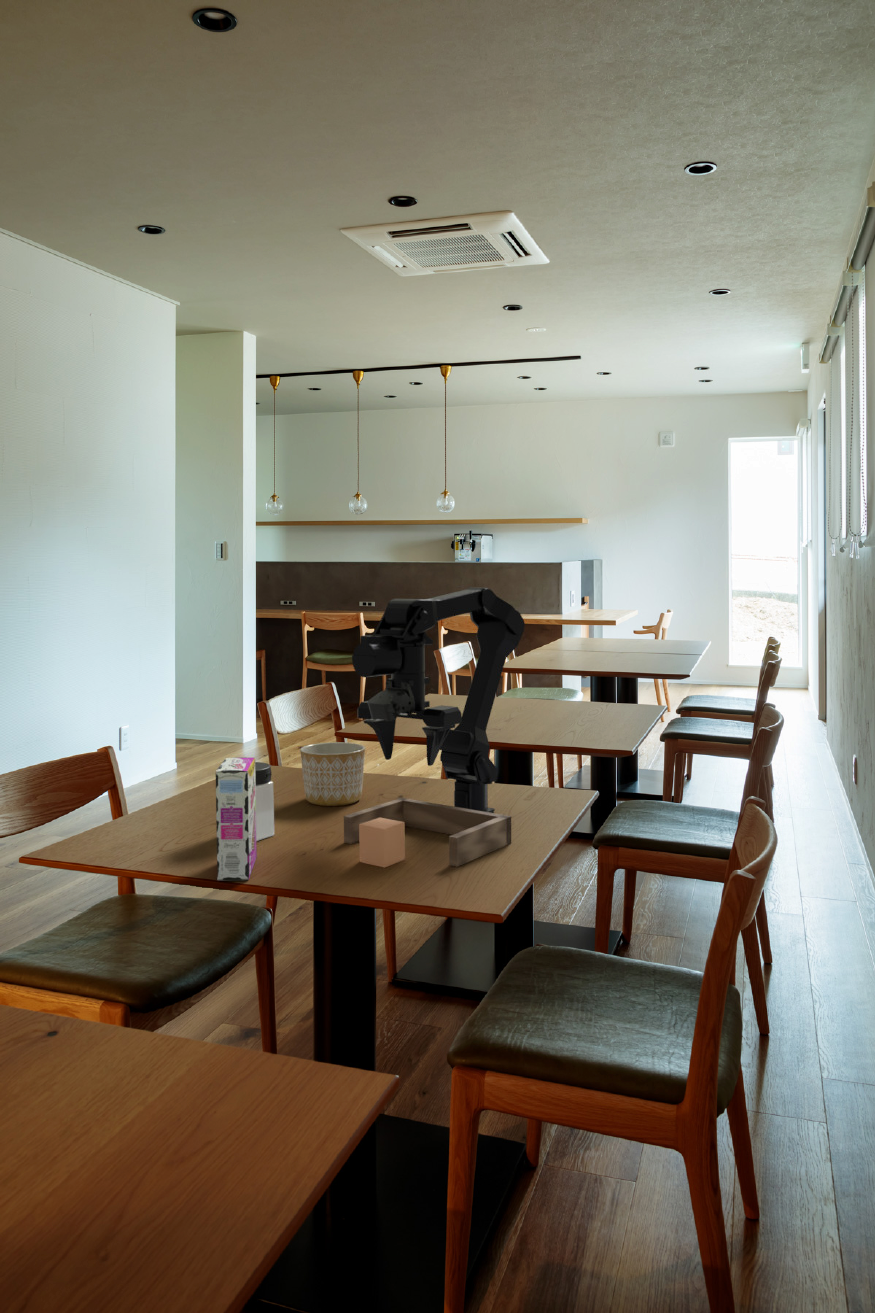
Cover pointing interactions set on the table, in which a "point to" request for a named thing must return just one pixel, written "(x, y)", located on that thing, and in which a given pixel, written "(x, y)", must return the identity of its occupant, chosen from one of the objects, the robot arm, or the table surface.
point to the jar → (264, 801)
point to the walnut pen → (440, 826)
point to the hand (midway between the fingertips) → (409, 762)
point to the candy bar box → (236, 818)
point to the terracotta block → (382, 842)
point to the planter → (333, 773)
